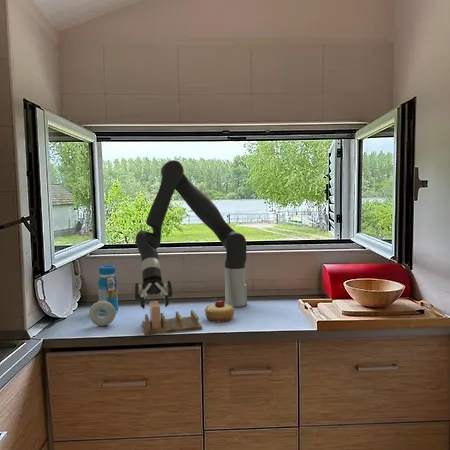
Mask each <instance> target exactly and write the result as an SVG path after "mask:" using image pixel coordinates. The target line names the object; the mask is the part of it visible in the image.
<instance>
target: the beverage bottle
mask: <svg viewBox="0 0 450 450" xmlns="http://www.w3.org/2000/svg"><path fill="white" fill-rule="evenodd" d="M98 272H99V278H98V280H97V284H98V286H97V292H98V294H97V295H98V301H107V302H110V303H111V304H112V305H113V306H114V308H115V312H116V313H118V312H119V304H118V303H119V302H118V300H119V299H118V297H119V296H118V289H119V286H118V279H117V277H116V276H115V274H116V266H115V265H101V266H99V268H98ZM98 314H100V315H107V312H106V311H105V310H103V309H101V310H99V311H98Z"/></svg>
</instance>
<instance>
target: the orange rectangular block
mask: <svg viewBox="0 0 450 450" xmlns="http://www.w3.org/2000/svg"><path fill="white" fill-rule="evenodd" d="M160 313H161V306H160V304H159V301H158V300H153V301H149V320H150V323H151V326H152V329H154V328H161V325H160Z"/></svg>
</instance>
